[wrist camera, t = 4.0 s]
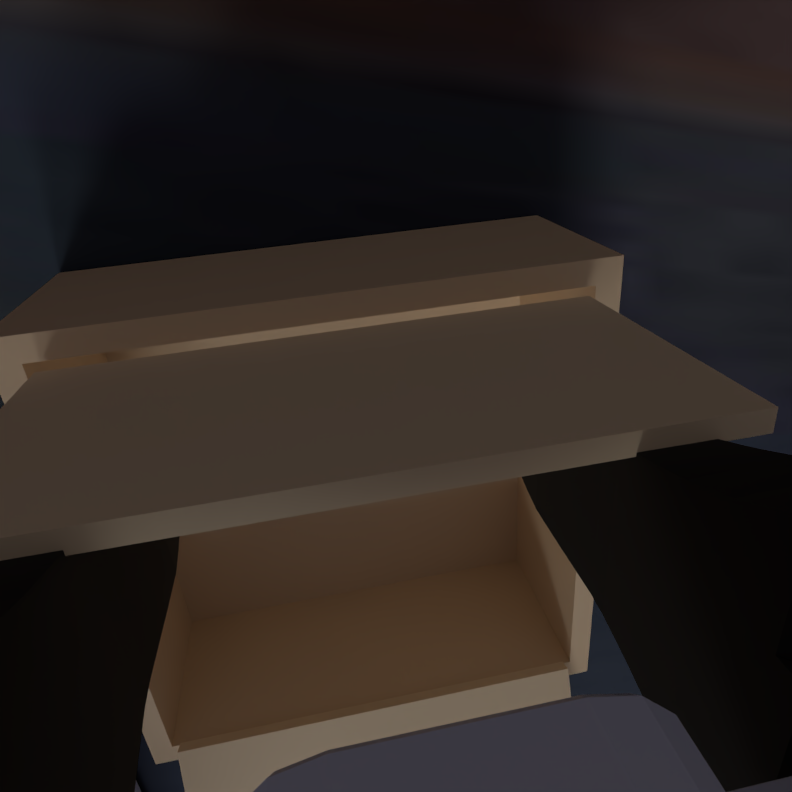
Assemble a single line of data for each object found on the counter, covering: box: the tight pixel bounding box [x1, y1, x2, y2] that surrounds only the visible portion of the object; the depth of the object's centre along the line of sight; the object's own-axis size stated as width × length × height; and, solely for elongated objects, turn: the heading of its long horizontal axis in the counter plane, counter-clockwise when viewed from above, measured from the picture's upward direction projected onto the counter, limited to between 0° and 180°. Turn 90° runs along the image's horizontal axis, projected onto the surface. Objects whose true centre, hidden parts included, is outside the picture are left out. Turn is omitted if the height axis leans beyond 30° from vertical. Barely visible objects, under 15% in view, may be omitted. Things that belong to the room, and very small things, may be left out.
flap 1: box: [0, 296, 778, 561], centre depth 10 cm, size 6×11×1 cm
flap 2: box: [177, 662, 571, 792], centre depth 18 cm, size 6×11×1 cm, turn 94°
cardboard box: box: [0, 215, 624, 764], centre depth 18 cm, size 13×13×5 cm
